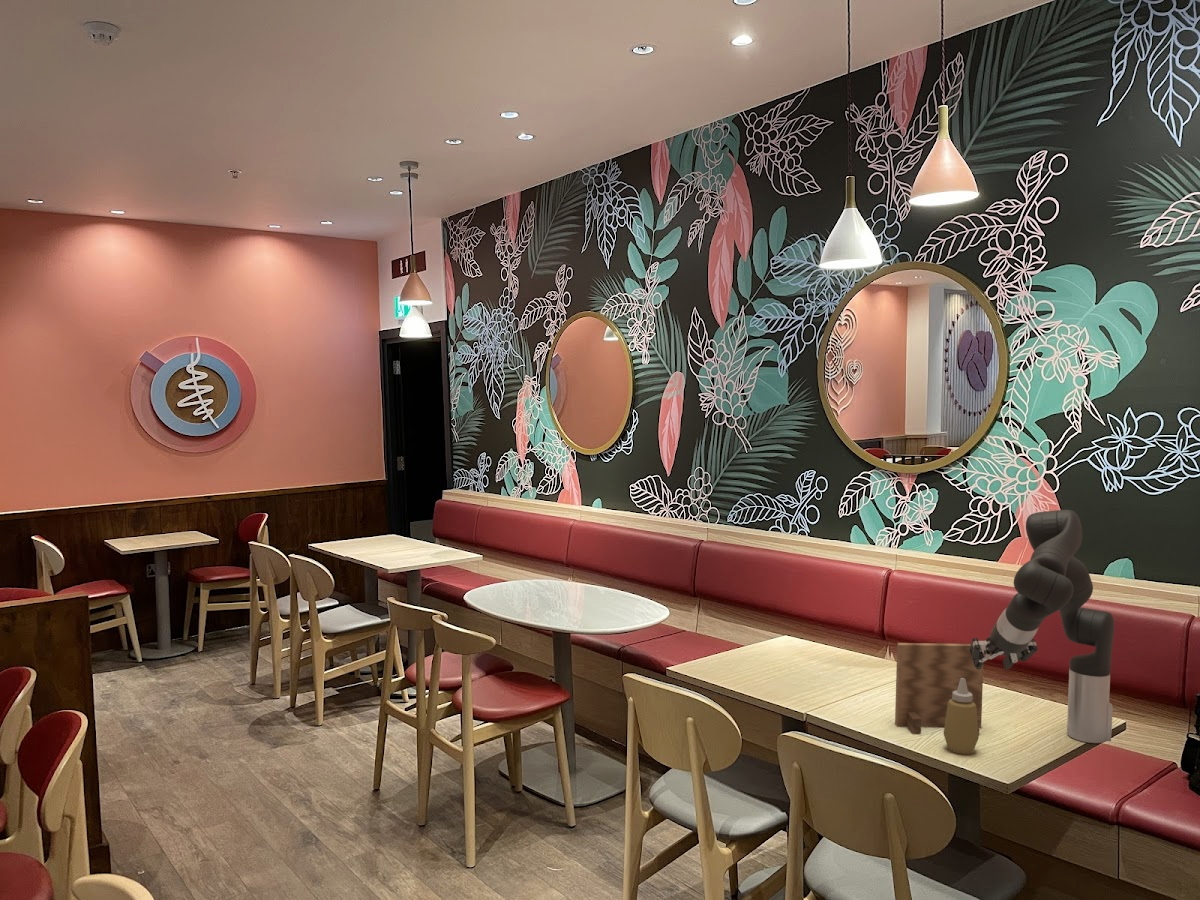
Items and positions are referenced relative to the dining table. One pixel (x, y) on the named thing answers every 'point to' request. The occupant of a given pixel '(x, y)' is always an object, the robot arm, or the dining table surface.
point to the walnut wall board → (933, 683)
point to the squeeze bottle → (961, 721)
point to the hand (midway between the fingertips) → (990, 665)
